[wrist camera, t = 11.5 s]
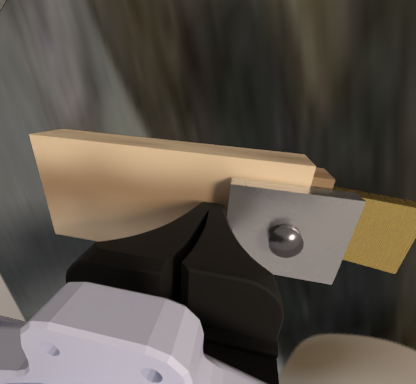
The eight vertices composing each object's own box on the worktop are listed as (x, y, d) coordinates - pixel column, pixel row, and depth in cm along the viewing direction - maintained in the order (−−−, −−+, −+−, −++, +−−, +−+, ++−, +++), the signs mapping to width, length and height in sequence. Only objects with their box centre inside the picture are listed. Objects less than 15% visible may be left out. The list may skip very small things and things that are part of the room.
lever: (299, 238, 14) (389, 262, 13) (299, 247, 14) (395, 273, 12) (316, 183, 13) (421, 202, 11) (316, 188, 12) (430, 210, 10)
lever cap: (325, 271, 12) (335, 293, 11) (222, 253, 13) (219, 272, 12) (355, 192, 10) (373, 207, 9) (232, 177, 11) (229, 188, 10)
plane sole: (298, 252, 15) (306, 279, 13) (80, 216, 18) (55, 233, 16) (326, 156, 13) (343, 169, 10) (62, 128, 15) (28, 134, 13)
